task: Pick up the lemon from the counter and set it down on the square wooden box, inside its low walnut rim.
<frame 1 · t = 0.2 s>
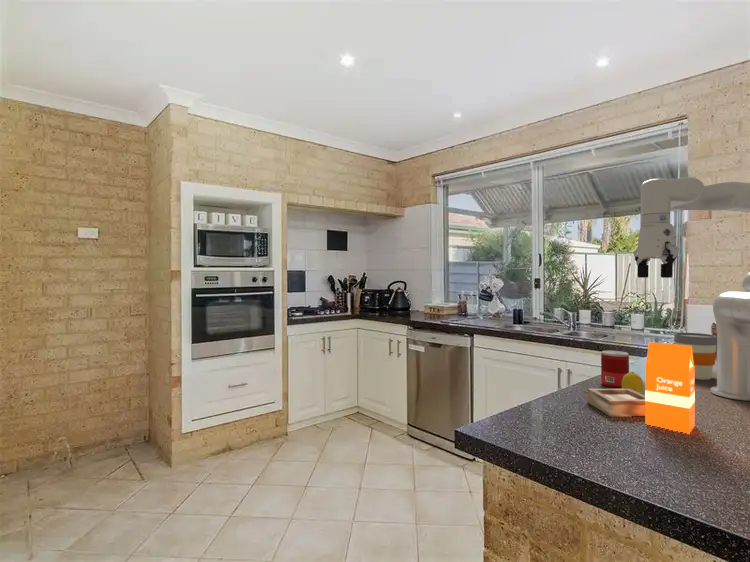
hand: (654, 277, 126), 36 cm above the counter, tool pointing down, fingers open, 9 cm apart
reusable coffee cup: (695, 377, 149), on the counter
square wooden box: (620, 409, 114), on the counter
orange juice: (669, 426, 101), on the counter
lemon: (632, 399, 124), on the counter
canned food: (614, 385, 138), on the counter
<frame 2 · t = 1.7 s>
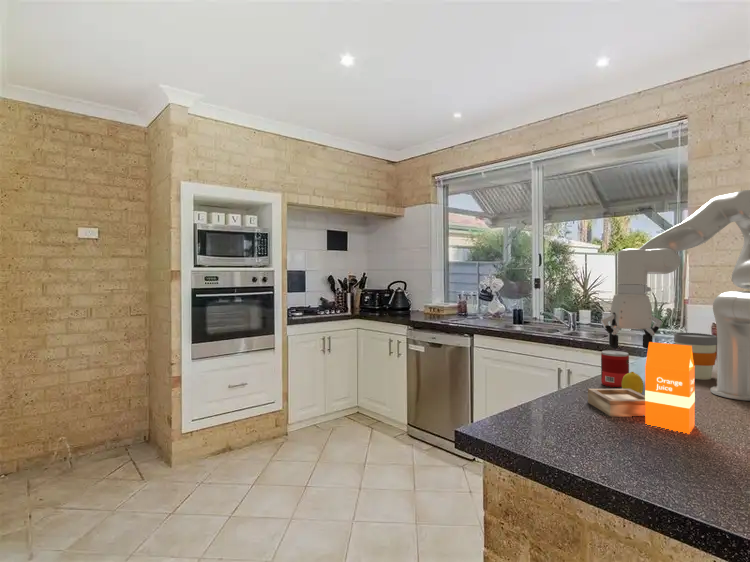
hand: (630, 348, 123), 15 cm above the counter, tool pointing down, fingers open, 9 cm apart
nothing on the counter moved.
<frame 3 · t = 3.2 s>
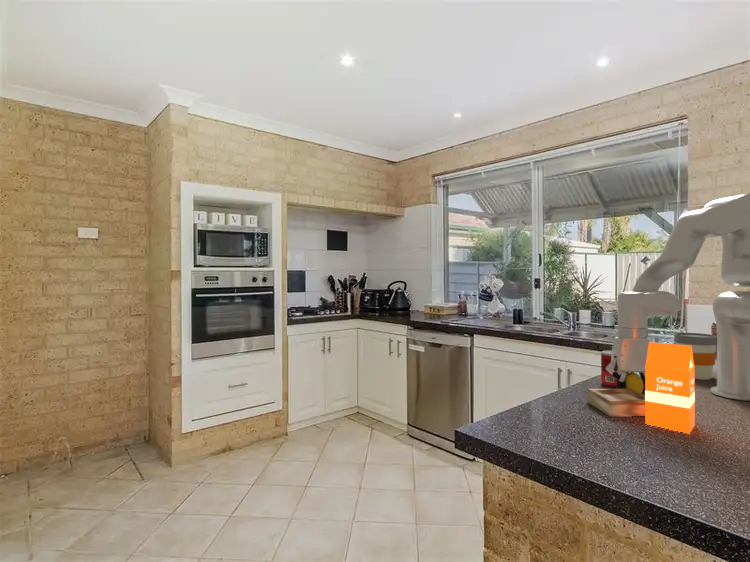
hand: (632, 393, 124), 2 cm above the counter, tool pointing down, fingers closed on lemon, 5 cm apart
lemon: (632, 399, 124), on the counter, touching gripper
everything else where it was.
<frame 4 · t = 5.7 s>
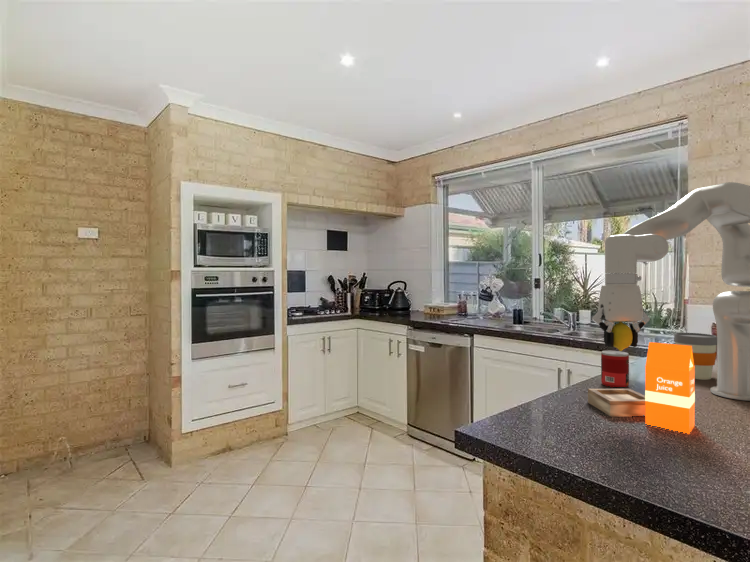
hand: (620, 345, 114), 17 cm above the counter, tool pointing down, fingers closed on lemon, 5 cm apart
lemon: (620, 351, 114), point 16 cm above the counter, touching gripper
everything else where it was.
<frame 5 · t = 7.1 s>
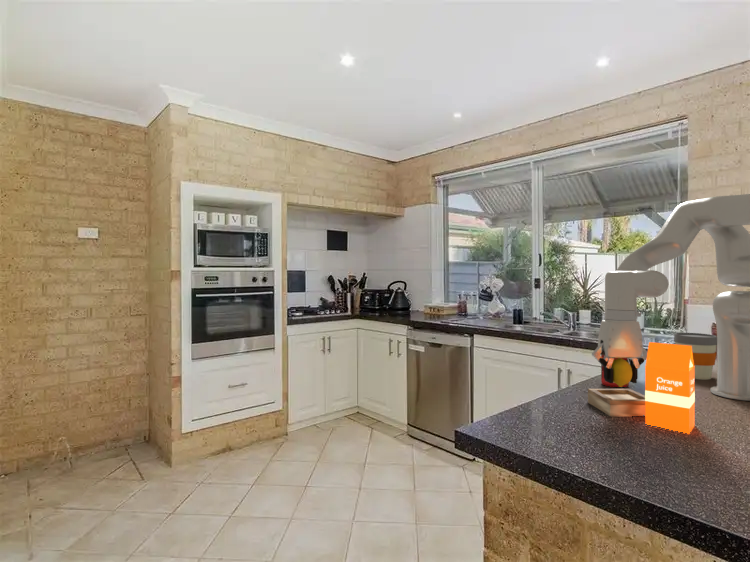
hand: (620, 381, 114), 8 cm above the counter, tool pointing down, fingers closed on lemon, 5 cm apart
lemon: (620, 387, 114), point 6 cm above the counter, touching gripper
everything else where it was.
when the fingers open (6 cm above the counter, at t = 7.9 s): lemon drops 1 cm, resting on square wooden box.
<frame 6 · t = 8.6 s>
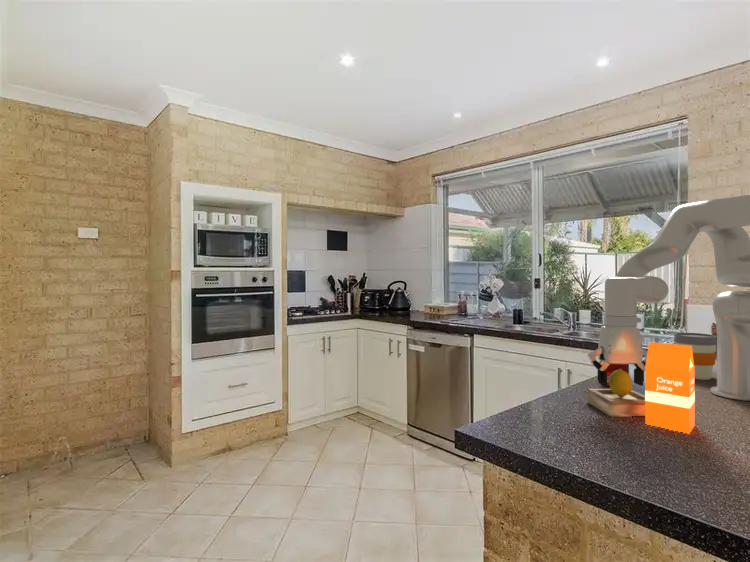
hand: (620, 384, 114), 7 cm above the counter, tool pointing down, fingers open, 9 cm apart
lemon: (621, 398, 114), point 3 cm above the counter, touching square wooden box
everything else where it was.
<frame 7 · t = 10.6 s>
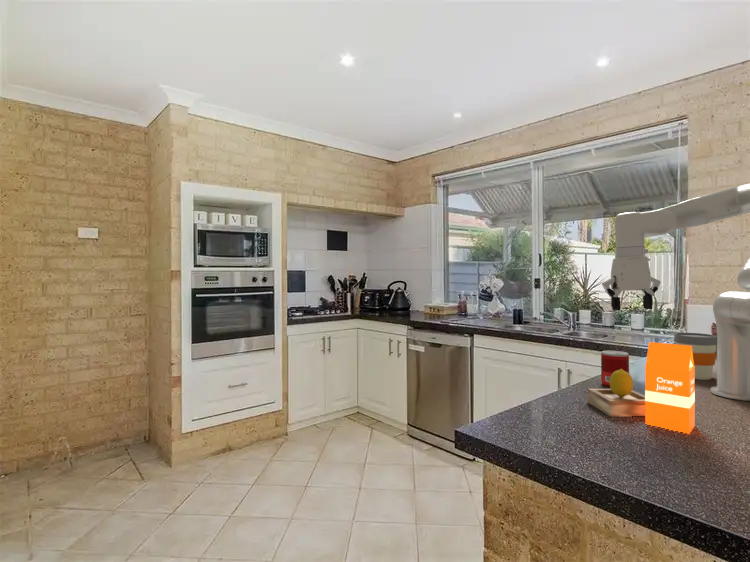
hand: (632, 309, 127), 26 cm above the counter, tool pointing down, fingers open, 9 cm apart
nothing on the counter moved.
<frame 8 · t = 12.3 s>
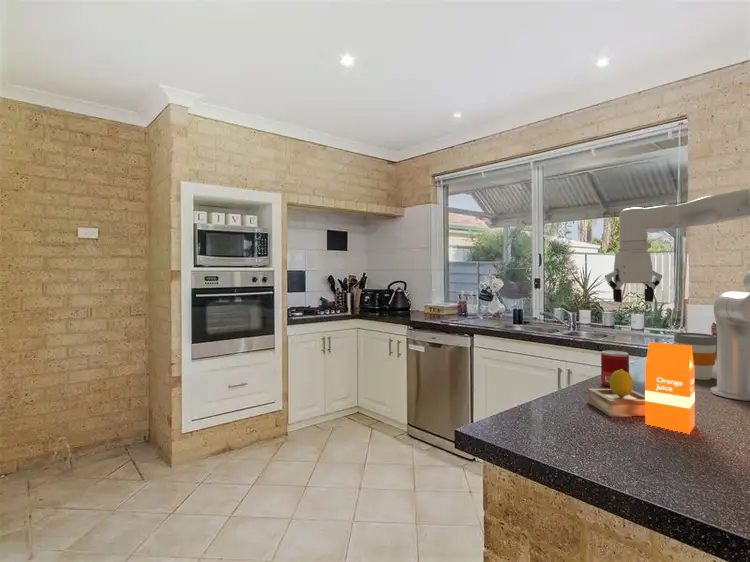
hand: (633, 301, 131), 28 cm above the counter, tool pointing down, fingers open, 9 cm apart
nothing on the counter moved.
at the end: lemon inside the target area on the square wooden box (0.2 cm from its centre), point 2.8 cm above the square wooden box's base; lemon touching square wooden box; the gripper is holding nothing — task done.
